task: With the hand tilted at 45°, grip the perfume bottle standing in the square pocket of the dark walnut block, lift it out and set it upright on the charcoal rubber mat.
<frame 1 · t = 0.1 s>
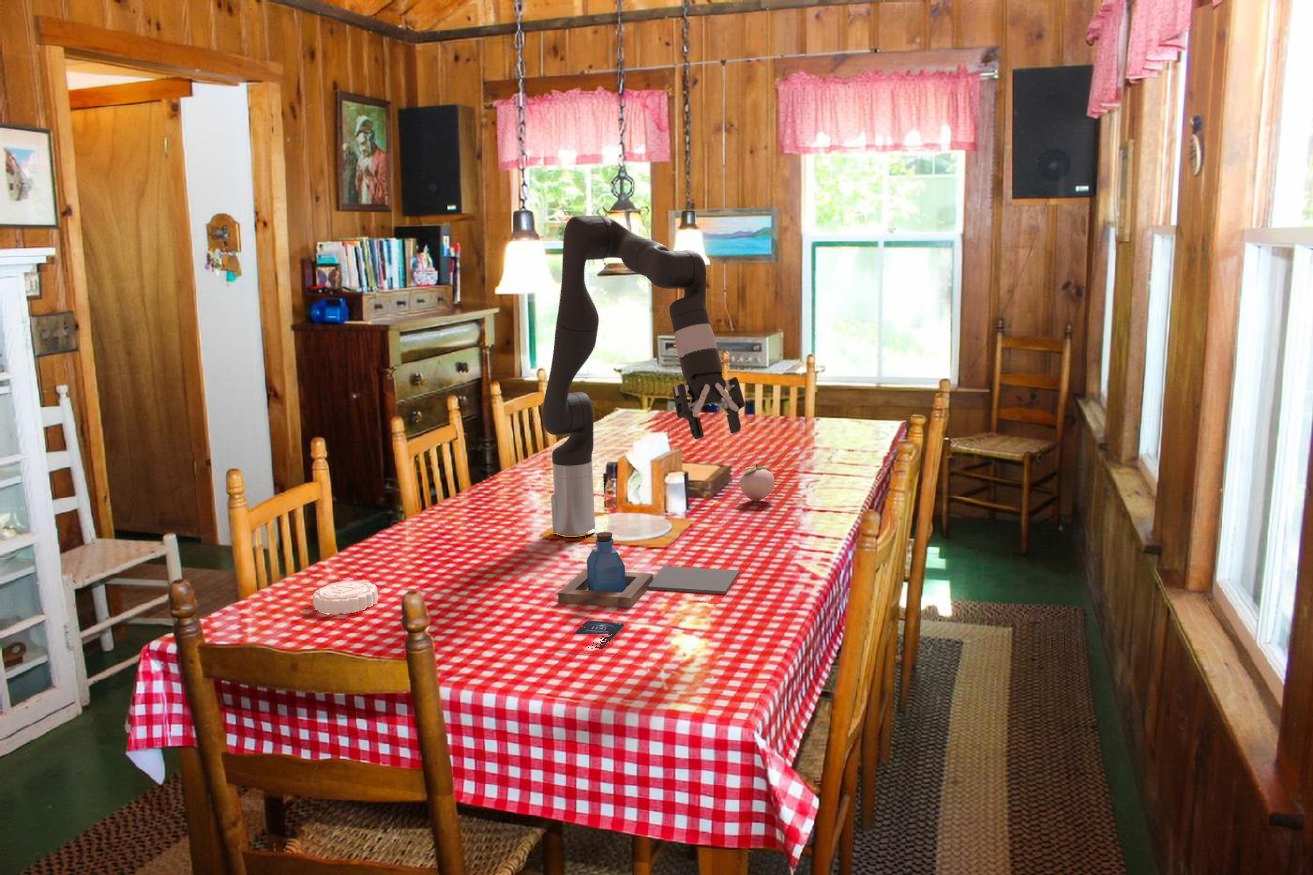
hand: (717, 435, 199), 31 cm above the table, tool tilted 20°, fingers open, 8 cm apart
smartphone: (591, 641, 186), on the table
rubber mat: (693, 581, 214), on the table
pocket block: (606, 592, 209), on the table
mooncake: (346, 607, 207), on the table
decorative fruit: (758, 503, 274), on the table
perfume bottle: (606, 594, 209), resting in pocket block
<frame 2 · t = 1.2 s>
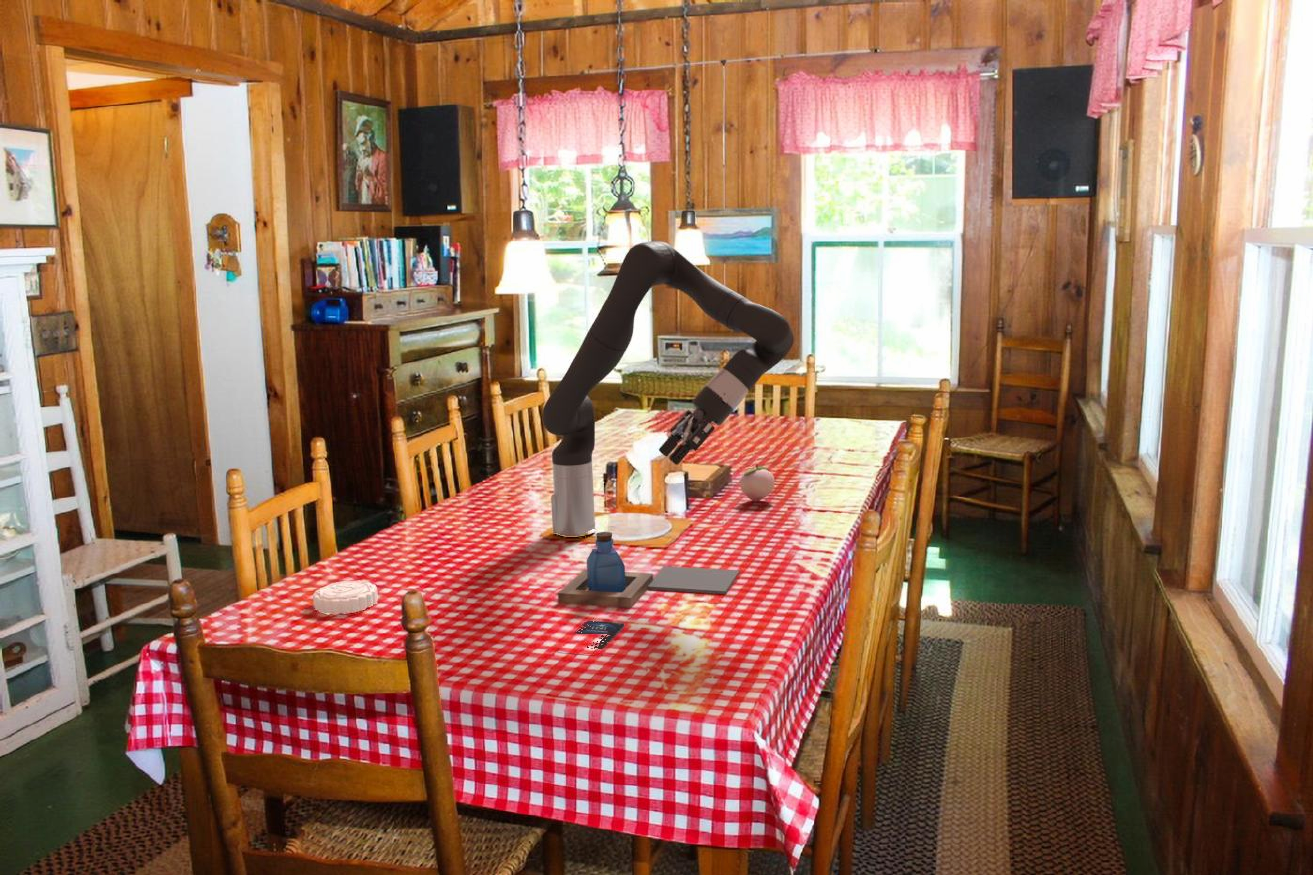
hand: (667, 457, 213), 25 cm above the table, tool tilted 45°, fingers open, 8 cm apart
nothing on the table moved.
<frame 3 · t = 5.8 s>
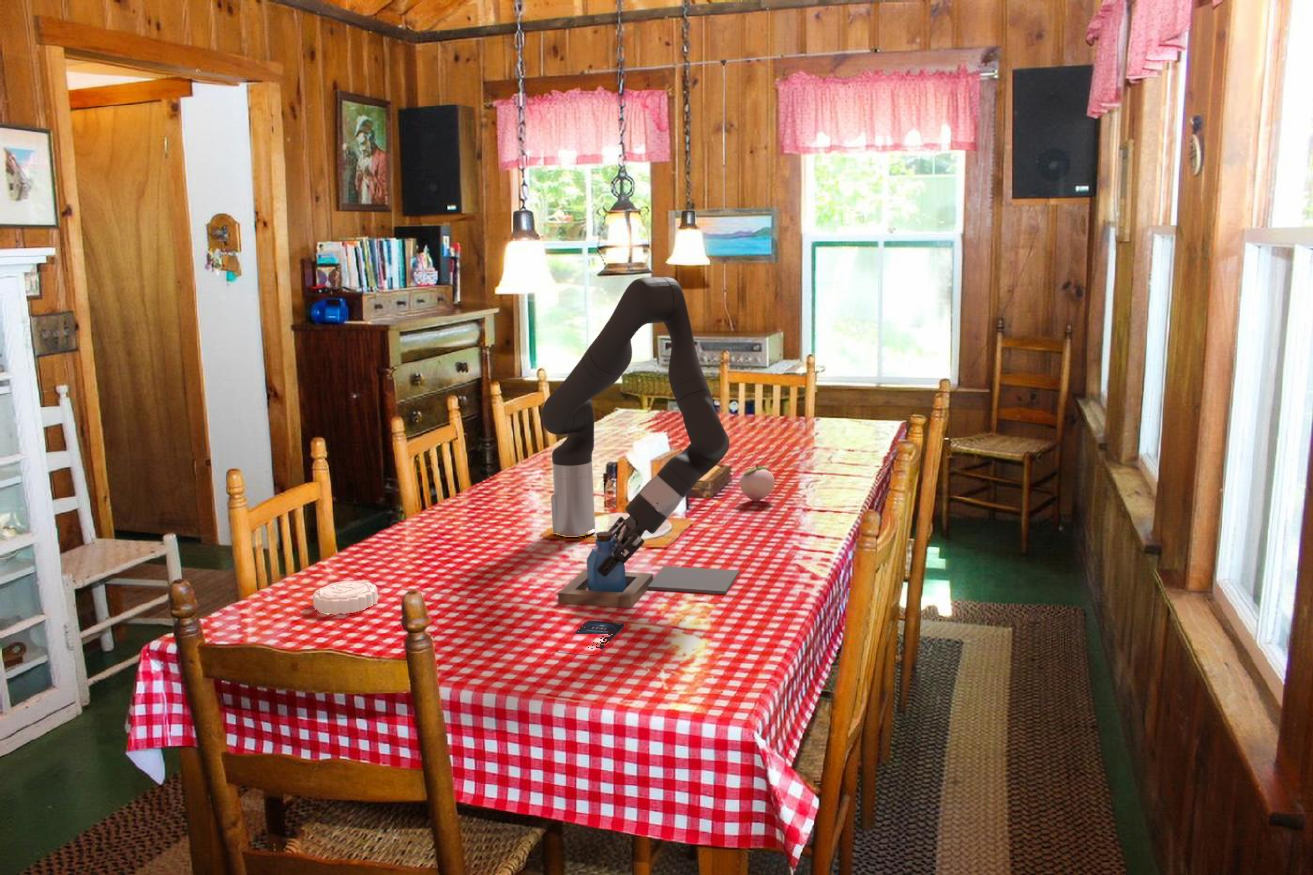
hand: (597, 568, 207), 5 cm above the table, tool tilted 45°, fingers closed on perfume bottle, 6 cm apart
perfume bottle: (606, 593, 209), resting in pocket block, touching gripper
everything else where it was.
when the fingers open (7 cm above the table, at t = 12.9 s): perfume bottle drops 1 cm, resting on rubber mat.
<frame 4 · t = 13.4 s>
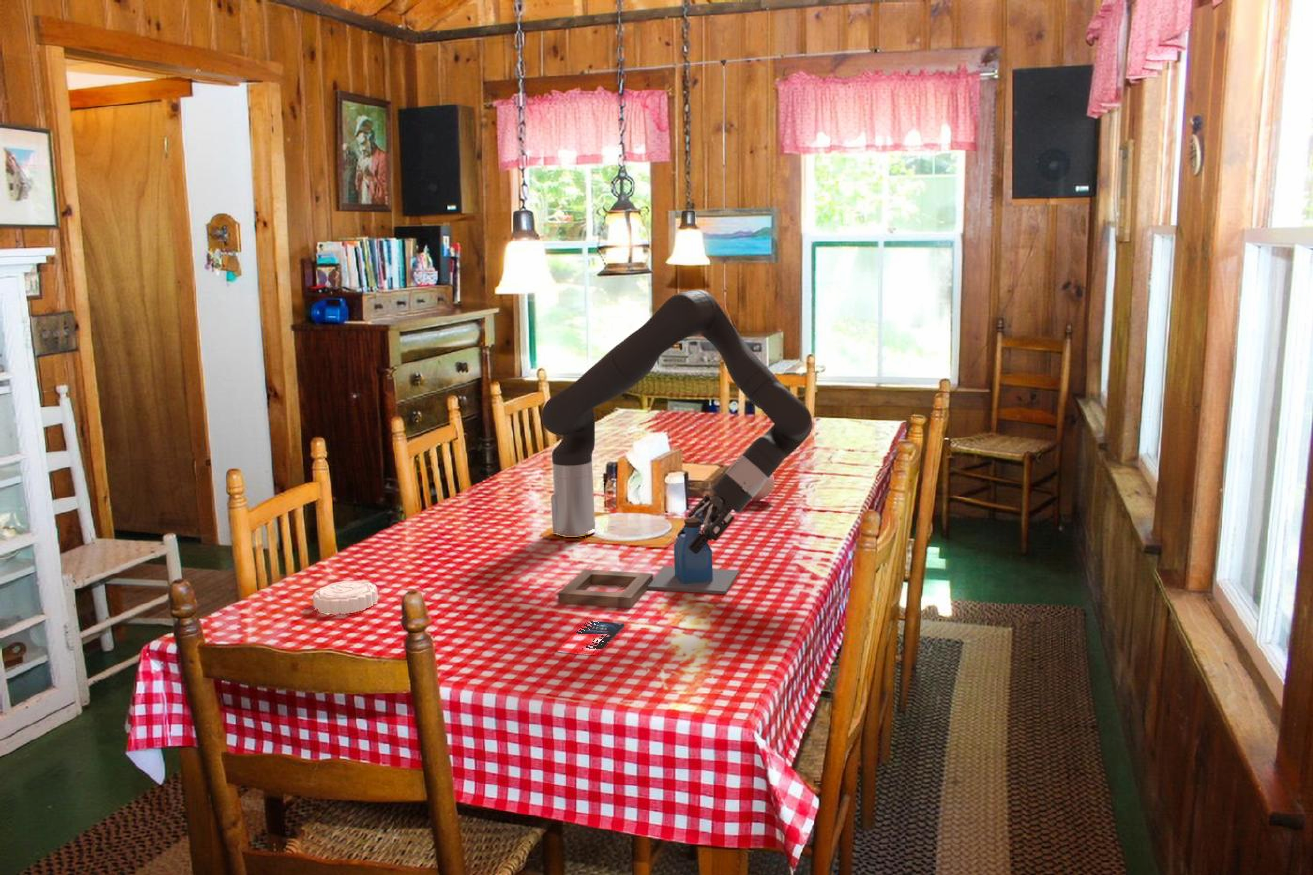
hand: (686, 545, 212), 8 cm above the table, tool tilted 45°, fingers open, 8 cm apart
perfume bottle: (693, 578, 214), resting on rubber mat
everything else where it was.
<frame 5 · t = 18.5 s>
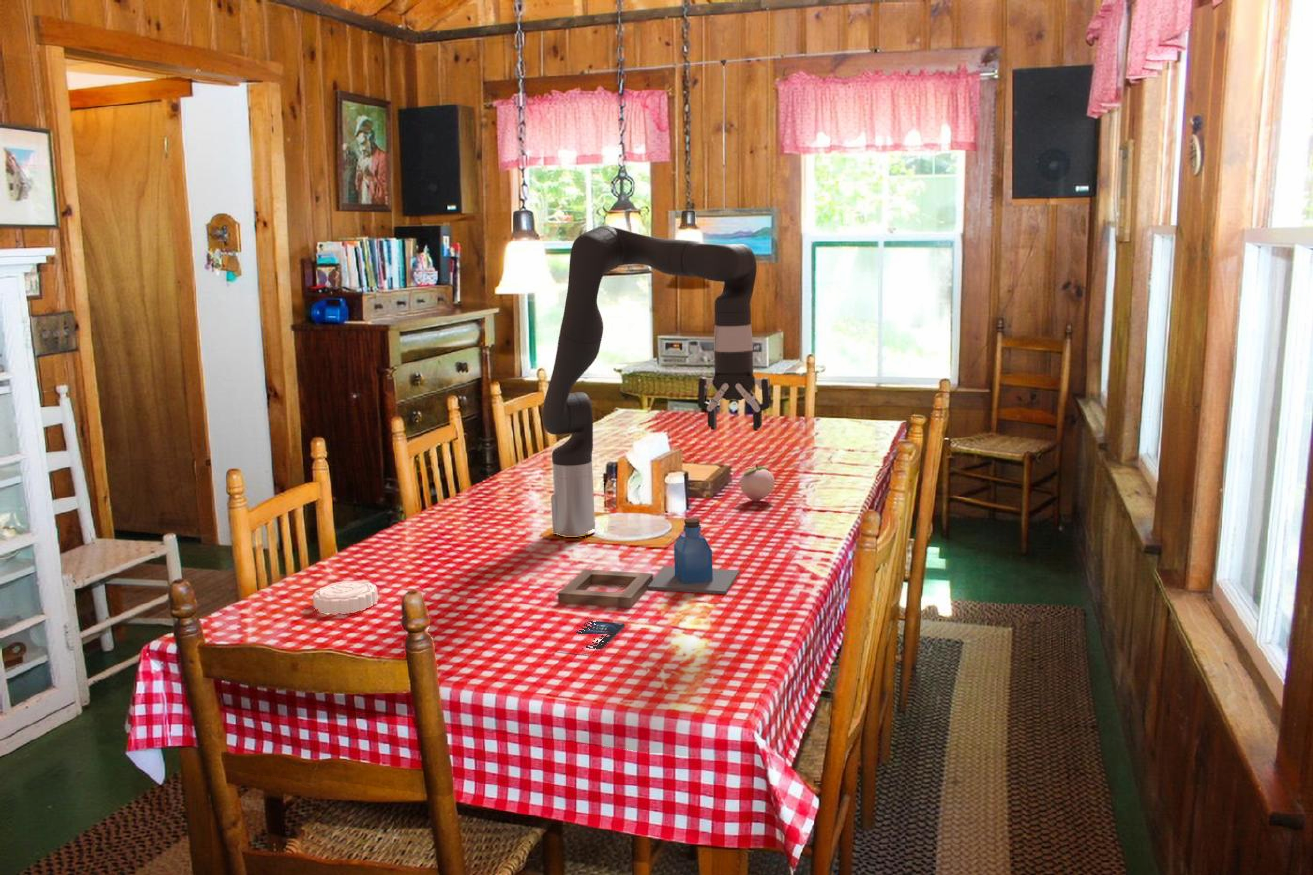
hand: (735, 429, 211), 30 cm above the table, tool pointing down, fingers open, 8 cm apart
nothing on the table moved.
at the end: perfume bottle inside the target area on the rubber mat (0.3 cm from its centre), point 0.4 cm above the rubber mat's base; perfume bottle tilted 0°; the gripper is holding nothing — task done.
